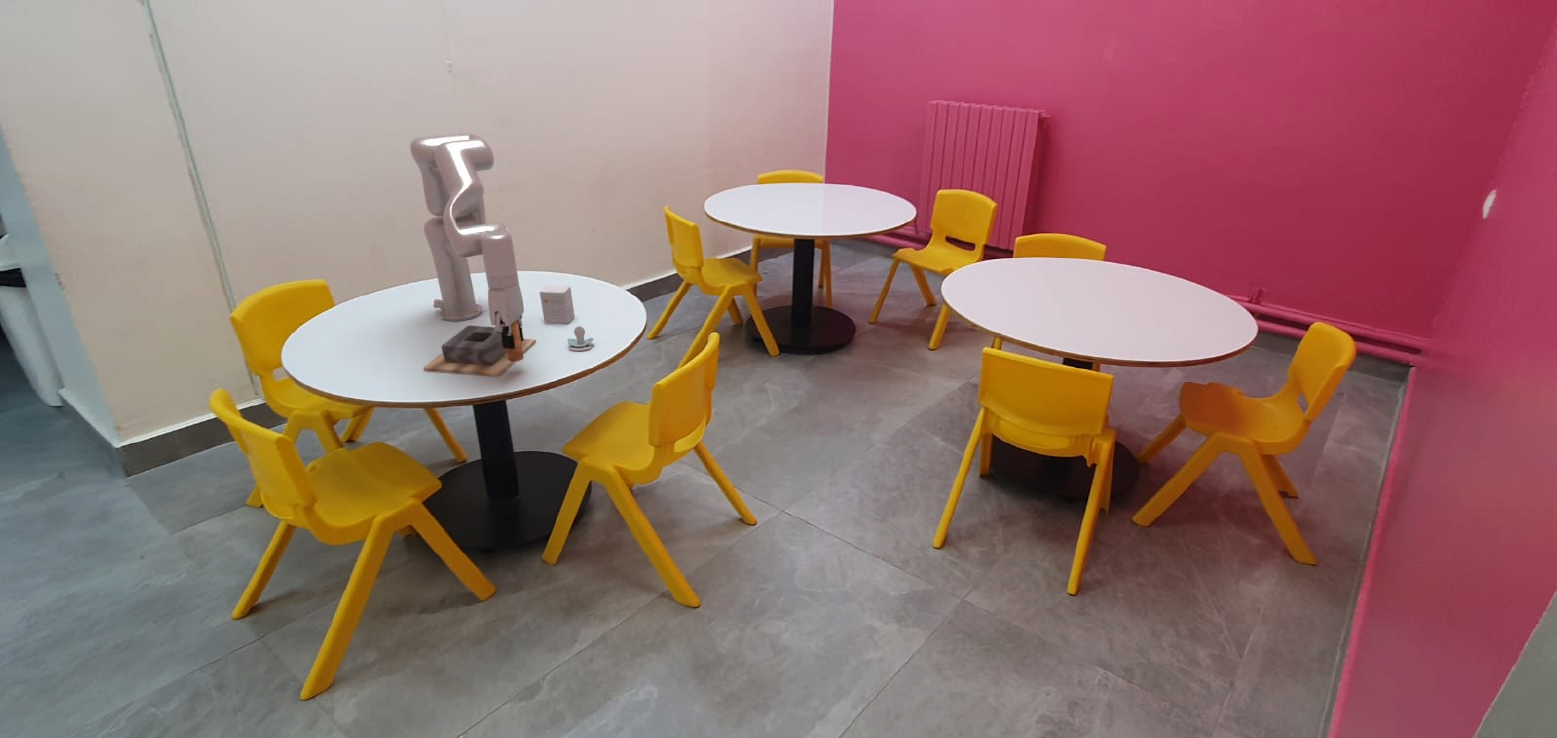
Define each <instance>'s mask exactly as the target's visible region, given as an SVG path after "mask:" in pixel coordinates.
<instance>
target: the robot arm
mask: <svg viewBox="0 0 1557 738" xmlns="http://www.w3.org/2000/svg"><path fill="white" fill-rule="evenodd" d="M409 147H410V153H411V156H412V159H413V161H414V163H416V165H417V166H418V168H419V171H420V174H421V179H422V187H423V194H424V199H425V200H424V201H425V205H426V208H427V211H428V212H429V213H430V214H431V215H432V216H435V217H431V218H429V219H428V220H426V222H425V223H424V225H423V233H424V235H425V238H426V241H427V243H428V246H429V248H430V252H431V255H432V257H433V258H432V259H433V262H434V267H435V271H436V276H437V280H438V285H439V286H438V287H439V290H440V296H441V298H442V299H434V301H433V305H432V306H433V309H434V308H436V309H437V308H438V309H439V308H440V309H441V311H440V312H439V316H440V318H441V319H443V320H445V321H449V322H451V321H452V322H459V321H467V320H470V319H474V318H476V317H479V315H481V314H482V313H483V307H482V306H481V304H477V301H476V296H475V292H474V286H473V280H472V277H471V270H470V265H469V261H468V259H467V258H470V257H471V258H472V257H476V256H482V259H483V265H484V272H485V276H486V282H487V287H488V290H487V303H488V304H487V305H488V311H489V313H488V314H489V321H490V324H491V325H492V326H494V327H495V329H494V330H495V332H498V333H499V334H500V335H501V338H502V344H503V348H506V349H515V342H514V336H513V335H512V332H511V324H512V323H513V322H514V321H515V320H517V319H518V325H519V331H520V337H521V341H523V340H524V339H525V338H524V334H523V327H522V326H523V322H522V319H523V314H524V312H525V311H524V310H525V308H524V307H525V306H524V300H523V296H522V290H521V288H520V282H519V274H518V268H517V262H516V261H517V260H516V255H515V250H514V244H513V237H512V235H511V234H510V231H509V228H508V227H507V226H506V225H505V224H504V223H502V222H500V221H499V222H498V221H497V222H496V221H495V222H487V221H486V209H485V202H484V201H485V200H484V193H485V188H484V186H483V184H482V182H481V179H480V177H479V175H478V173H477V172H482V171H489V170H491V169H492V168H493V167H494V163H495V160H494V159H495V157H494V153H493V150H492V149H491V146H490V145H489V143H488V142H487V141H486V140H485V139H484V138H482V137H480V136H478V135H476V134H474V133H468V132H467V133H455V134H446V135H445V134H444V135H442V134H441V135H431V136H424V137H423V136H422V137H417V138H414V139H412V141H411V143H410V146H409ZM502 322H505V323H502ZM503 326H504V327H507V330H506V329H504V328H503Z"/></svg>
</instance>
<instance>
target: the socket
mask: <svg viewBox="0 0 1557 738" xmlns="http://www.w3.org/2000/svg"><path fill="white" fill-rule="evenodd" d="M494 329H495V326H481V325H479V326H478V325H466V326H465V327H464V328H463V329H461V330H460V331H459V332H457V333H456V334H455V335H453V336H452V337H451V338H449V340H447V341H446V342H444V343H443V344H441V351H442V353H440V354H439V355H437V356H436V357H435V358H434V359H433V360H431V361H430V362H429V363H427V364H426V365H425V366H423V371H424V372H431V373H433V372H434V373H445V372H446V373H447V374H457V375H459V374H460V375H471V374H472V375H474V376H487V377H497V378H498V377H501V376H503V374H504V373H506V372H507V371H508V370H509V369H510V368H511V367H512V366H513V365H514V364H515V363H516V362H511V361H509V360H508V356H507V350H506V348H503V344H502V338H501V335H500V334H499V333H498V332H495V330H494ZM523 339H524V340H523V341H521V344H522V350H523V356H524V355H525V354H526V353H527V352H528V351H529V350H530V349H531V348H532V347H533V346H534V345H536V343H537V341H536V339H533V338H523Z"/></svg>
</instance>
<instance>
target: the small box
mask: <svg viewBox="0 0 1557 738" xmlns="http://www.w3.org/2000/svg"><path fill="white" fill-rule="evenodd" d="M539 296H540V301H541V310H542V313H543V319H544V320H543V321H544V323H545V324H562V325H563V324H565V325H566V324H567V325H568V324H570V323H571V322H572V321H573V320H574V319H575V316H576V315H575V308H574V303H573V295H572V290H571V286H568V285H567V286H566V285H565V286H564V285H563V286H559V285H554V286H553V285H546V286H545V287H543V288H542V289H541V290H540V291H539Z"/></svg>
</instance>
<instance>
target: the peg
mask: <svg viewBox="0 0 1557 738" xmlns="http://www.w3.org/2000/svg"><path fill="white" fill-rule="evenodd" d="M502 323H505V322H502ZM503 328H504V329H506V330H507V327H504V326H503ZM511 332H512V335H513V336H514V342H515V349H506V350H507V356H508V360H509V361H511V362H515V363H516V362H520V361H522V360H524V355H523V350H522V344H521V337H520V331H519V325H518V319H517V320H515V321H514V322H513V323H512V324H511Z"/></svg>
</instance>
